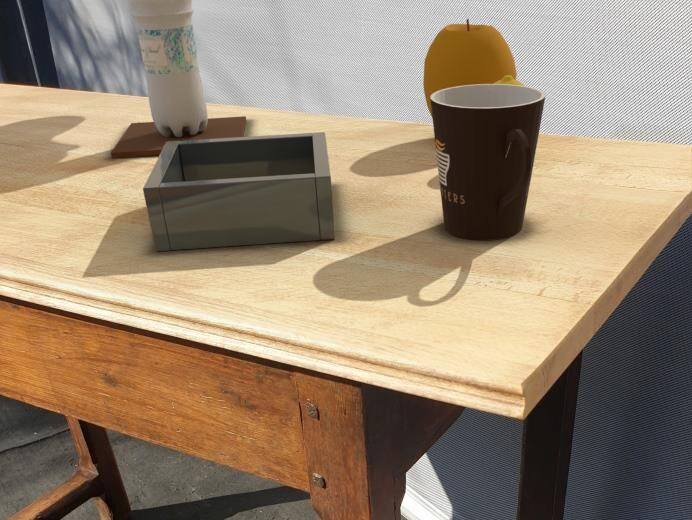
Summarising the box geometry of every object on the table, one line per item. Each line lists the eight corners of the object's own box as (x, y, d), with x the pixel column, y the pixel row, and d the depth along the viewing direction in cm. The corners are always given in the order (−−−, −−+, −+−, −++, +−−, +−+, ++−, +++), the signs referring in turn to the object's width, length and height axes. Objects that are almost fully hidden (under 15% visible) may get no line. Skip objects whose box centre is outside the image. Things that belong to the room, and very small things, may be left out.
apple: (524, 131, 93) (531, 13, 86) (493, 153, 86) (497, 26, 80) (444, 125, 97) (445, 11, 90) (408, 145, 90) (406, 24, 83)
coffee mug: (437, 208, 72) (437, 84, 67) (537, 210, 71) (546, 83, 65) (418, 257, 63) (417, 118, 57) (534, 261, 62) (544, 118, 56)
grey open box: (155, 251, 66) (142, 188, 63) (176, 197, 78) (166, 141, 75) (335, 239, 67) (330, 176, 64) (329, 187, 79) (325, 131, 76)
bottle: (142, 134, 96) (101, -71, 85) (190, 123, 100) (158, -75, 89) (174, 143, 92) (137, -71, 81) (223, 131, 96) (194, -75, 85)
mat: (111, 158, 91) (110, 152, 90) (132, 128, 102) (131, 123, 102) (240, 150, 91) (239, 144, 91) (246, 121, 103) (245, 116, 102)
